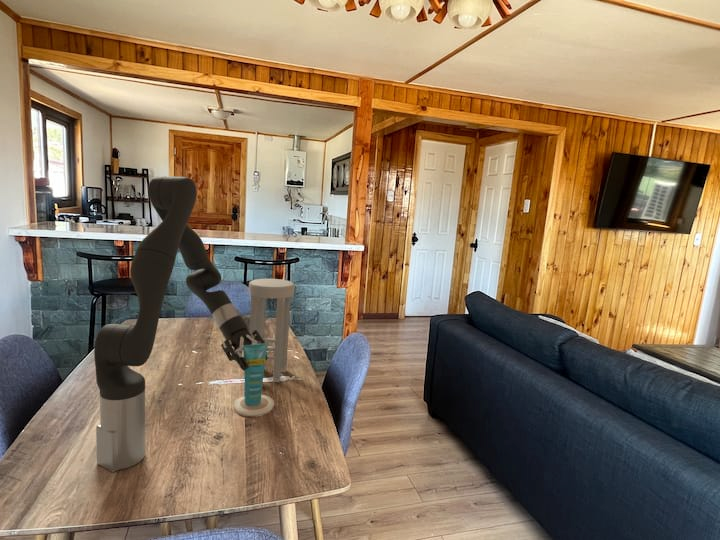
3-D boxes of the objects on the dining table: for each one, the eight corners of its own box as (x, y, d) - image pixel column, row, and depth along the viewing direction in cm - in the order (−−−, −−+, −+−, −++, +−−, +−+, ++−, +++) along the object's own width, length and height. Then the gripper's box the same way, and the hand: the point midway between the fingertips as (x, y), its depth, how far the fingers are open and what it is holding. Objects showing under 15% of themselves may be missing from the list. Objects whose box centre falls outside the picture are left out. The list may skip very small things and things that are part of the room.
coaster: (255, 420, 120) (256, 416, 120) (225, 408, 125) (225, 404, 125) (281, 404, 131) (281, 400, 131) (252, 394, 136) (252, 390, 136)
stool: (283, 386, 144) (288, 288, 138) (239, 381, 145) (243, 284, 139) (292, 368, 159) (298, 280, 154) (253, 364, 160) (257, 276, 154)
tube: (243, 408, 124) (245, 347, 121) (238, 401, 128) (241, 342, 125) (267, 403, 128) (270, 345, 125) (261, 397, 132) (264, 340, 129)
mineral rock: (224, 338, 187) (224, 316, 185) (225, 330, 197) (226, 310, 195) (253, 338, 190) (254, 317, 188) (253, 330, 200) (254, 311, 199)
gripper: (218, 319, 121) (247, 366, 118) (252, 310, 134) (278, 352, 131) (205, 333, 124) (232, 378, 121) (239, 322, 137) (264, 363, 134)
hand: (256, 364), depth 126 cm, fingers open, 8 cm apart
